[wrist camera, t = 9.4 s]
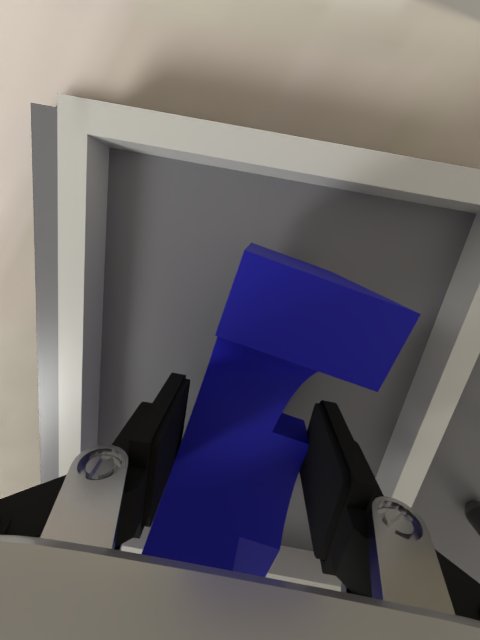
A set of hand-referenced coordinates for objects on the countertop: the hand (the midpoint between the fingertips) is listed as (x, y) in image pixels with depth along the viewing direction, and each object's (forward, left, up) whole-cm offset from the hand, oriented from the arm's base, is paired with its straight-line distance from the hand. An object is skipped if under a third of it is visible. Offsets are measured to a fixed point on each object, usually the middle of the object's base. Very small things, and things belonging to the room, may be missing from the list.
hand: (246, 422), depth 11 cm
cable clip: (0, 0, -1) cm, 1 cm away
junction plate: (0, -3, -3) cm, 5 cm away
